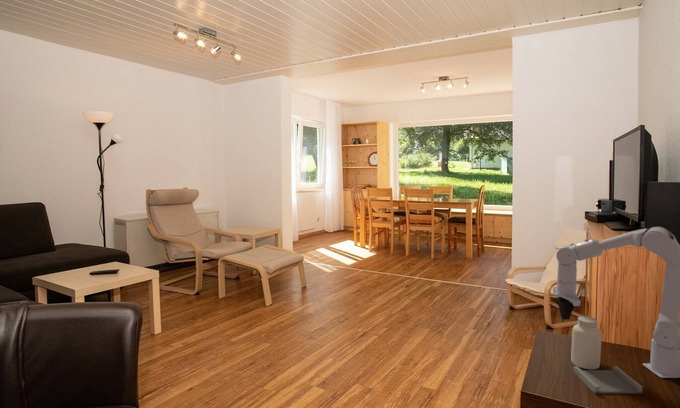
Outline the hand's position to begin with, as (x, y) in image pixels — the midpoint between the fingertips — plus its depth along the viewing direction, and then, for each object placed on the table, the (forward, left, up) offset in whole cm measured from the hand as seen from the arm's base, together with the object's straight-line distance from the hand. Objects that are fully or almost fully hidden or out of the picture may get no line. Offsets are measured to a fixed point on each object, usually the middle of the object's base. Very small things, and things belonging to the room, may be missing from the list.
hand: (565, 318), depth 143 cm
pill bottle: (0, +13, -10) cm, 16 cm away
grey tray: (0, +24, -10) cm, 26 cm away
